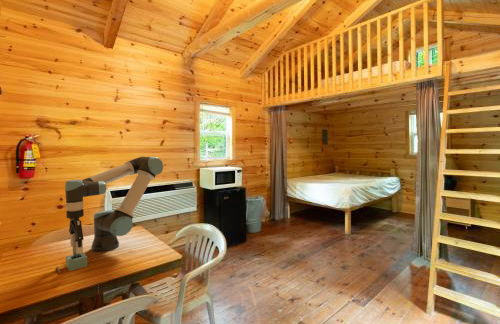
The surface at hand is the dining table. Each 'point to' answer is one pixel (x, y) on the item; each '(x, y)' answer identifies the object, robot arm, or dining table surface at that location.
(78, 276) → the dining table surface
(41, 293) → the dining table surface
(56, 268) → the lace
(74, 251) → the grey long bar
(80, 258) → the green hollow block
